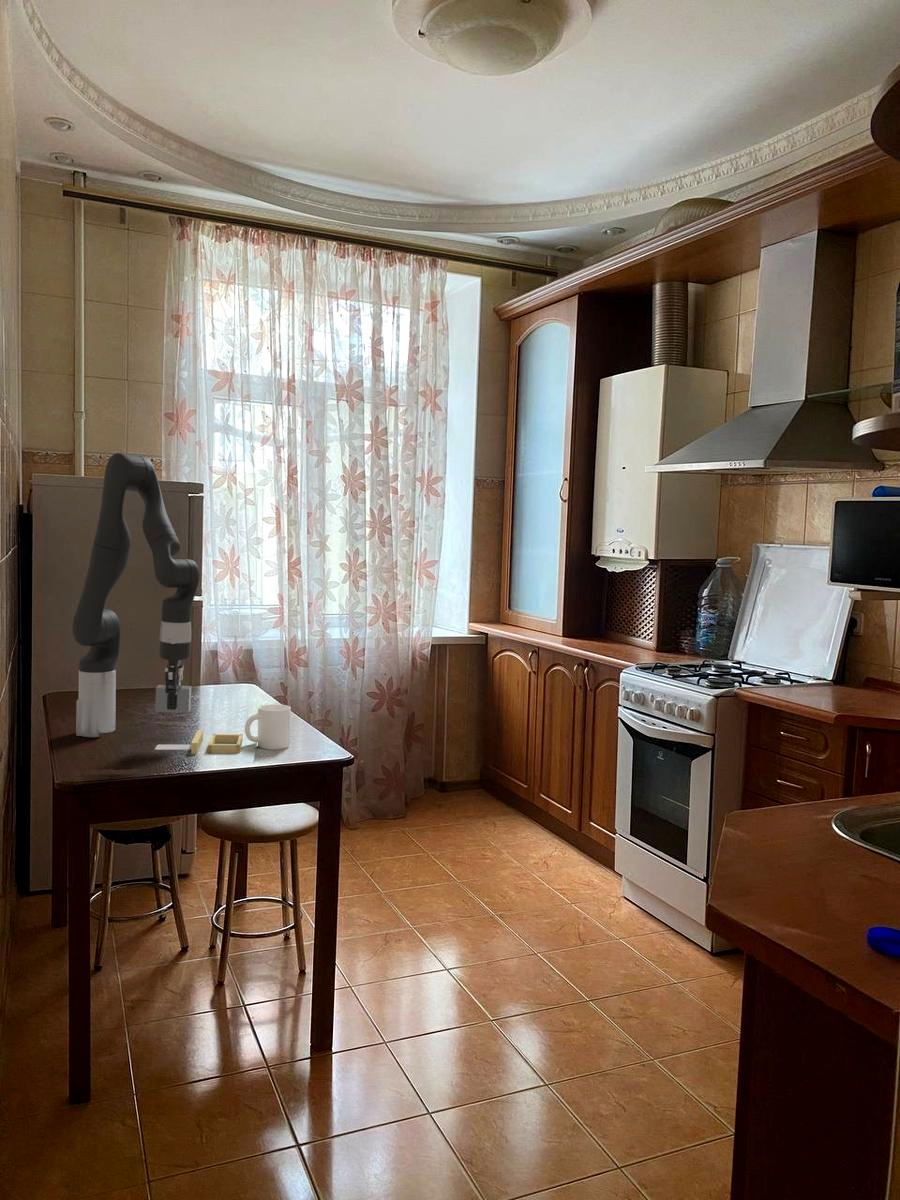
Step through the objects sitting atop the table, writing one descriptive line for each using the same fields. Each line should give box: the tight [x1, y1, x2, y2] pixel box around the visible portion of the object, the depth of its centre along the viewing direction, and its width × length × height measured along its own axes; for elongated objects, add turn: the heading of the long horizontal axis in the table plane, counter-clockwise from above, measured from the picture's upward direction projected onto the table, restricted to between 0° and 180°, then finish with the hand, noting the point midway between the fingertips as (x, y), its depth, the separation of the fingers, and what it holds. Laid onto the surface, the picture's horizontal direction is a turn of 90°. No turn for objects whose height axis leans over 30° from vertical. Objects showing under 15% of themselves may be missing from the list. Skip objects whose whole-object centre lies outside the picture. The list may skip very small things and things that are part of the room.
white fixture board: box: [154, 729, 244, 755], centre depth 235 cm, size 22×14×4 cm, turn 99°
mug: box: [244, 703, 292, 751], centre depth 241 cm, size 12×8×10 cm
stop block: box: [154, 684, 192, 714], centre depth 233 cm, size 8×4×6 cm, turn 98°
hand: (173, 707), depth 233 cm, fingers closed on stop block, 4 cm apart
